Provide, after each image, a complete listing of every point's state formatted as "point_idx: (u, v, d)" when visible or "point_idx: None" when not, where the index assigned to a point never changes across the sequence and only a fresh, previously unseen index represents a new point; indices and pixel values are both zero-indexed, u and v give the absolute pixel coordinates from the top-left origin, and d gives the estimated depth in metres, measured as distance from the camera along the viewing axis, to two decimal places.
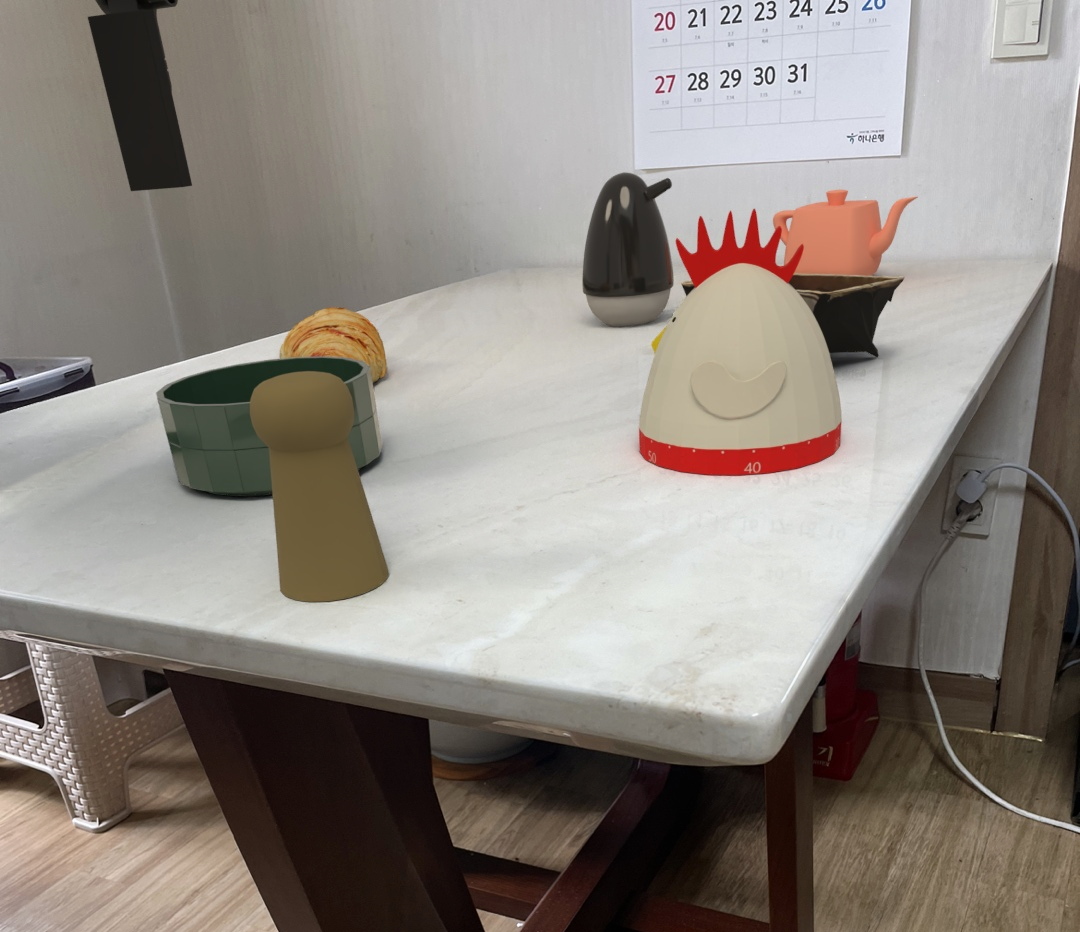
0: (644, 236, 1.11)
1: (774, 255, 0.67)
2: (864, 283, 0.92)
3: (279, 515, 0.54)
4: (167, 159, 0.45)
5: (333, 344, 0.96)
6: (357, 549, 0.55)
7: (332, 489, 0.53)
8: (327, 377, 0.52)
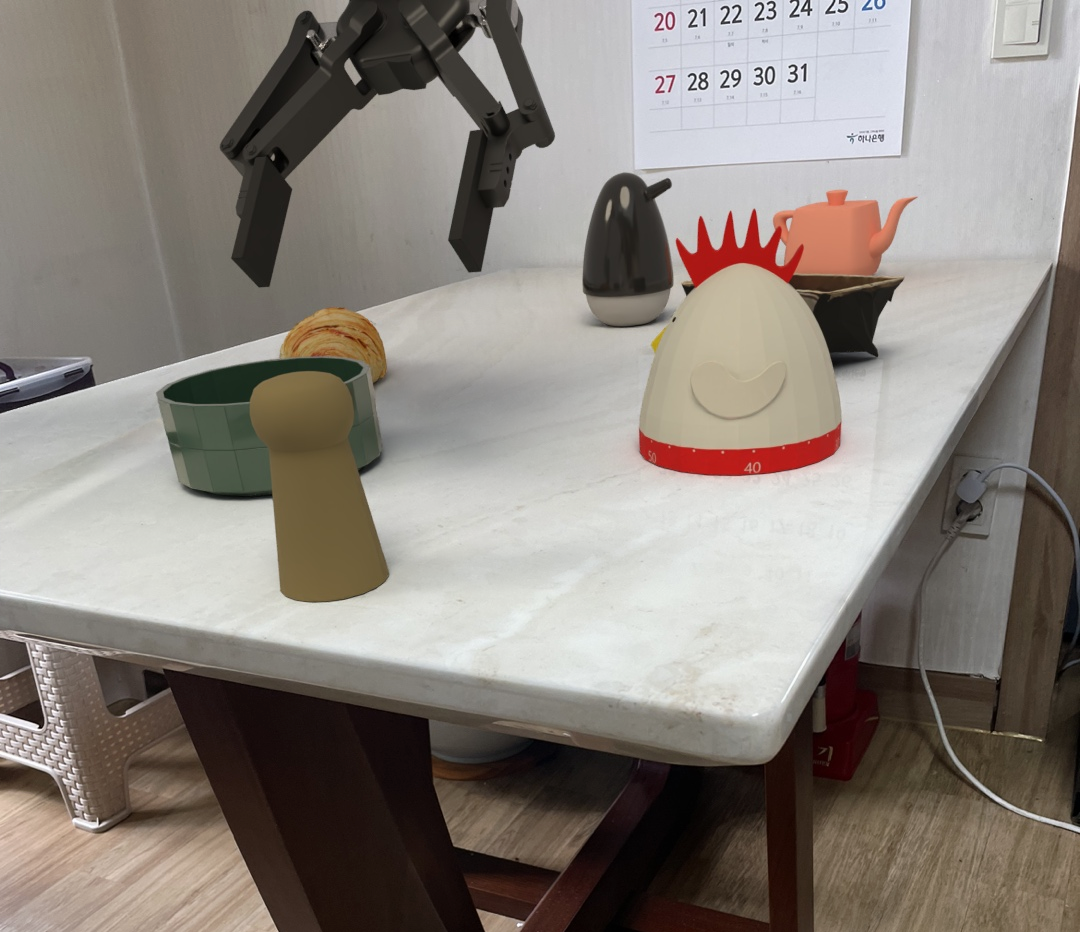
0: (644, 236, 1.11)
1: (774, 255, 0.67)
2: (864, 283, 0.92)
3: (279, 515, 0.54)
4: (269, 265, 0.60)
5: (333, 344, 0.96)
6: (357, 549, 0.55)
7: (332, 489, 0.53)
8: (327, 377, 0.52)
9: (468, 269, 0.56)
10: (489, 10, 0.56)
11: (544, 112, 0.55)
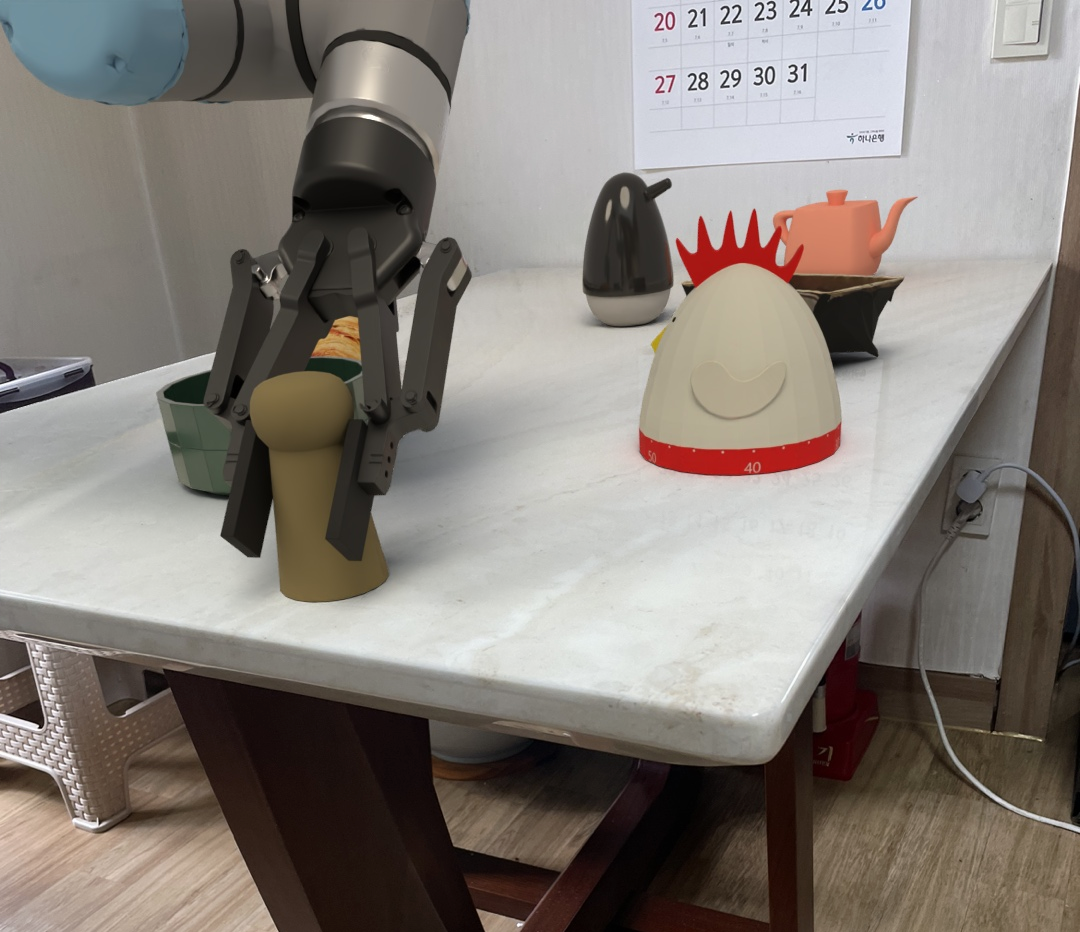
0: (644, 236, 1.11)
1: (774, 255, 0.67)
2: (864, 283, 0.92)
3: (279, 515, 0.54)
4: (260, 534, 0.55)
5: (333, 344, 0.96)
6: None
7: (332, 489, 0.53)
8: (327, 377, 0.52)
9: (348, 558, 0.53)
10: (426, 271, 0.54)
11: (425, 407, 0.52)
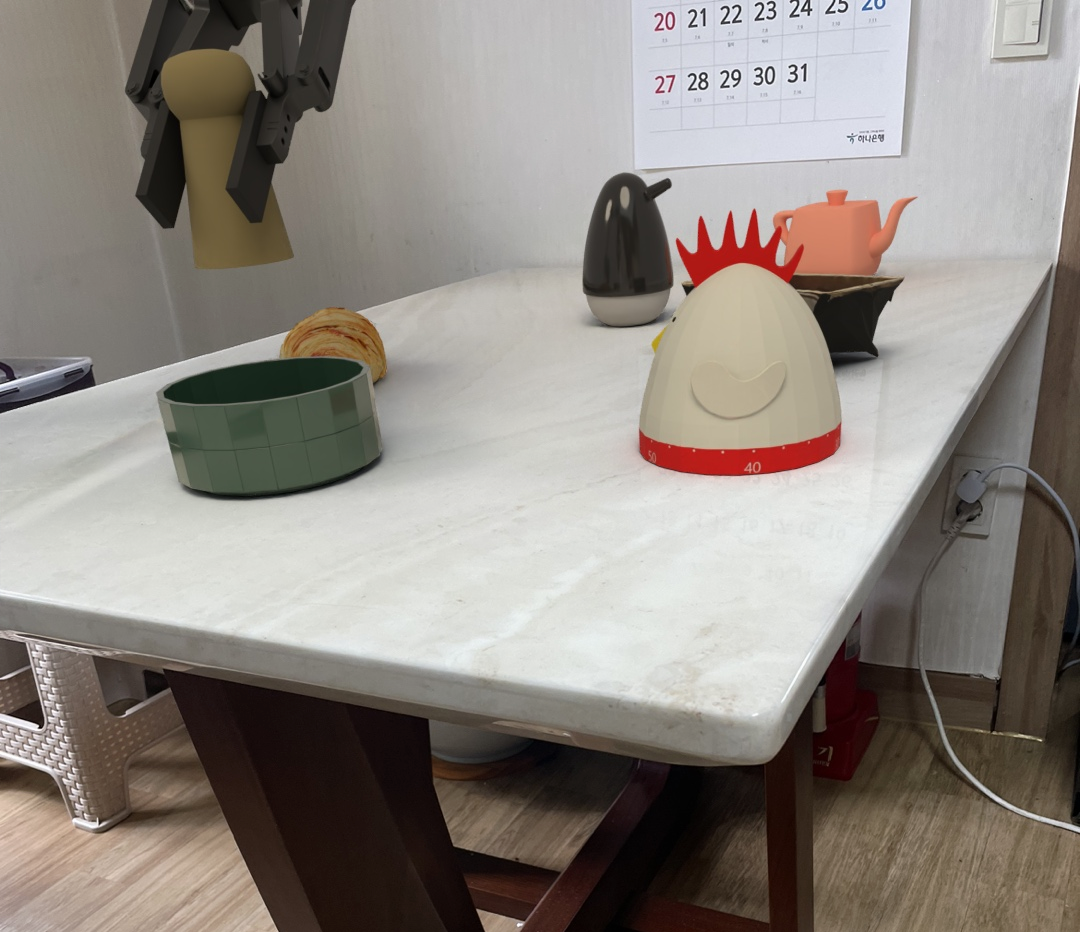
0: (644, 236, 1.11)
1: (774, 255, 0.67)
2: (864, 283, 0.92)
3: (190, 186, 0.61)
4: (173, 206, 0.61)
5: (333, 344, 0.96)
6: None
7: None
8: (229, 51, 0.58)
9: (249, 219, 0.60)
10: None
11: (317, 81, 0.59)
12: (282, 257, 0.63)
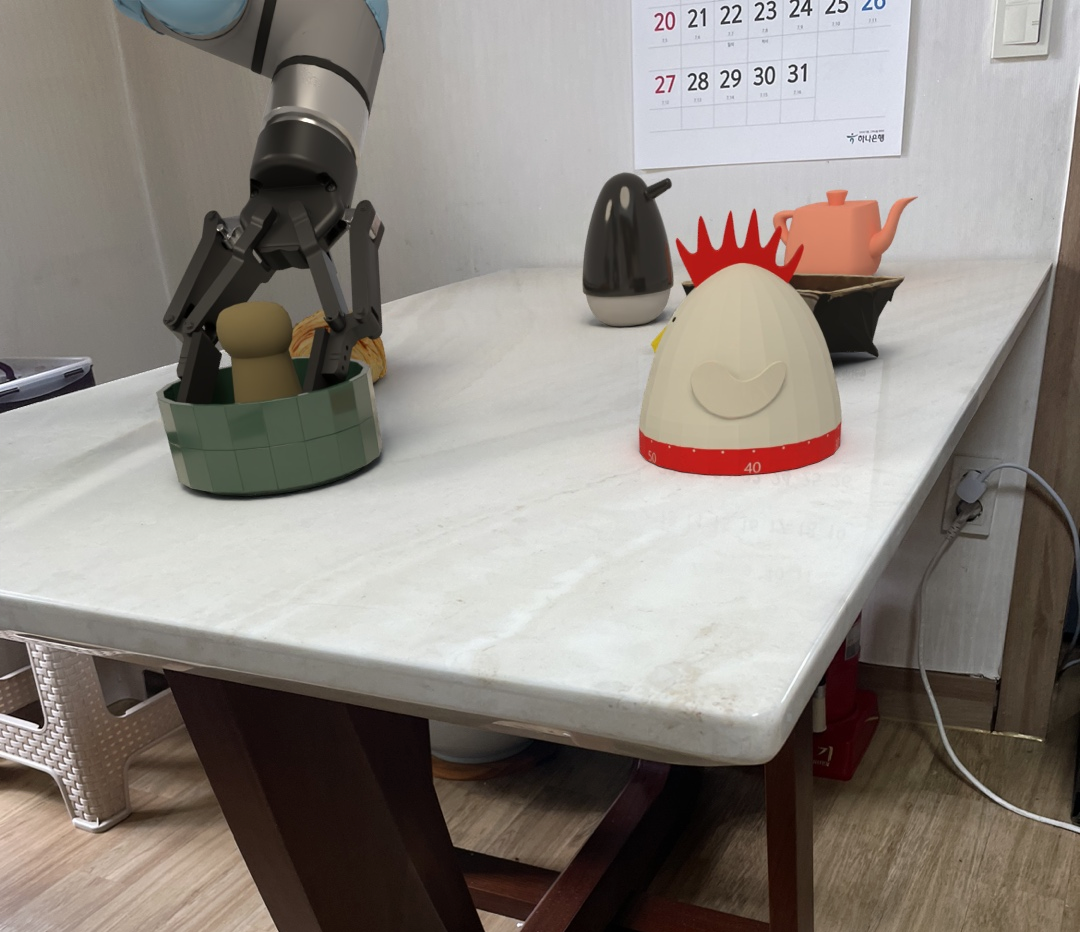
0: (644, 236, 1.11)
1: (774, 255, 0.67)
2: (864, 283, 0.92)
3: None
4: None
5: None
6: None
7: (277, 386, 0.73)
8: (272, 304, 0.72)
9: None
10: (353, 226, 0.74)
11: (372, 318, 0.72)
12: None
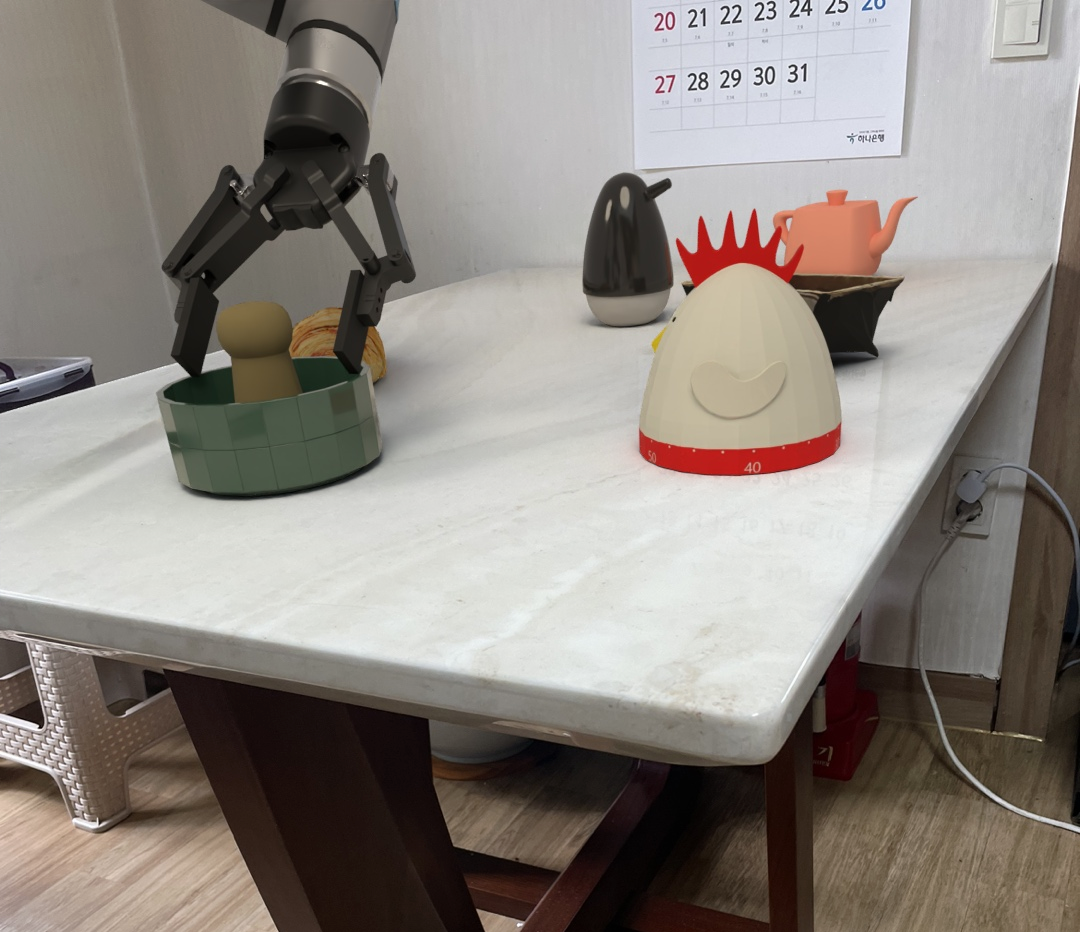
0: (644, 236, 1.11)
1: (774, 255, 0.67)
2: (864, 283, 0.92)
3: None
4: (200, 360, 0.77)
5: (333, 344, 0.96)
6: None
7: (277, 386, 0.73)
8: (272, 304, 0.72)
9: (349, 371, 0.74)
10: (370, 178, 0.75)
11: (406, 259, 0.73)
12: None
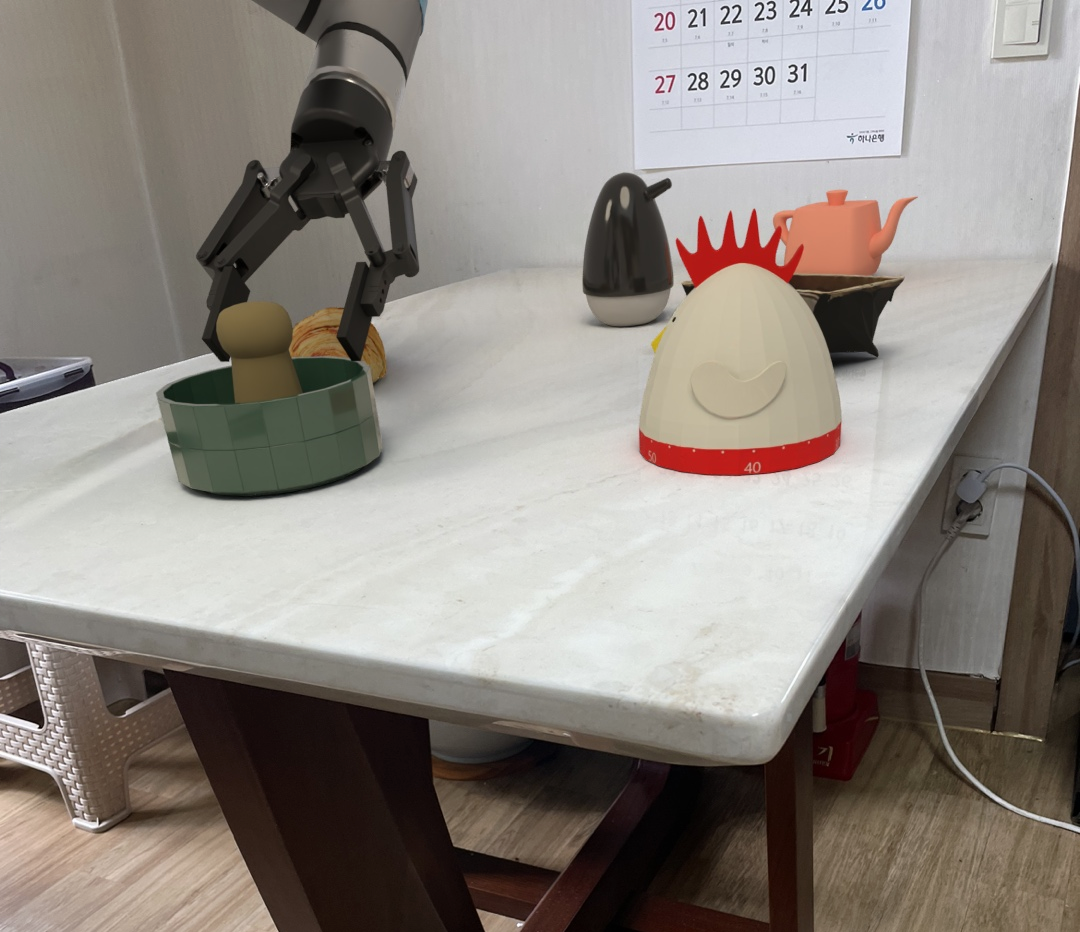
0: (644, 236, 1.11)
1: (774, 255, 0.67)
2: (864, 283, 0.92)
3: None
4: None
5: (333, 344, 0.96)
6: None
7: (277, 386, 0.73)
8: (272, 304, 0.72)
9: (351, 358, 0.76)
10: (389, 173, 0.78)
11: (410, 254, 0.76)
12: None
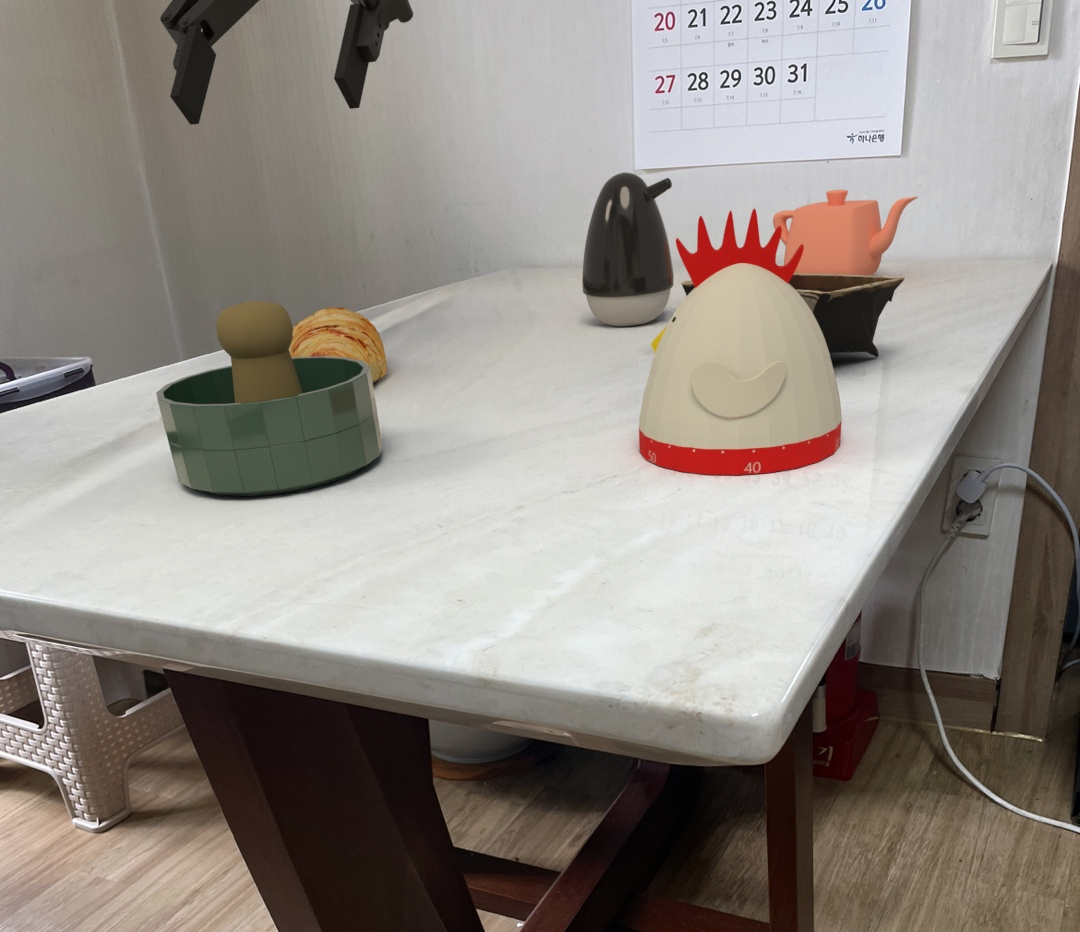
0: (644, 236, 1.11)
1: (774, 255, 0.67)
2: (864, 283, 0.92)
3: None
4: (198, 107, 0.80)
5: (333, 344, 0.96)
6: None
7: (277, 386, 0.73)
8: (272, 304, 0.72)
9: (349, 105, 0.76)
10: None
11: None
12: None
